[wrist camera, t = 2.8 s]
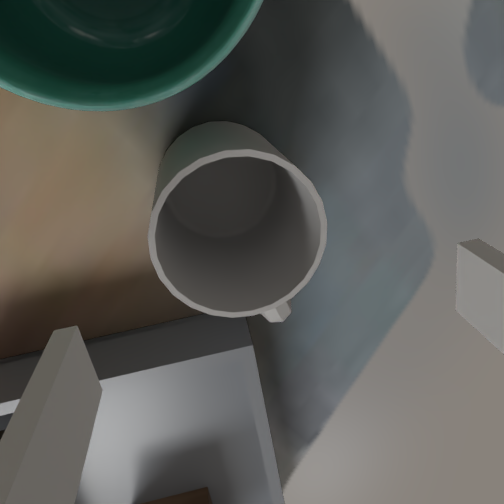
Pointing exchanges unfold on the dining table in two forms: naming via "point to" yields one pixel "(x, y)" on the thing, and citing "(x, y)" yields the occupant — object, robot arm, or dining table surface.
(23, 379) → the gray tray
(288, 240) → the cup
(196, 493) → the walnut block
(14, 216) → the dining table surface
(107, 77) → the mug
